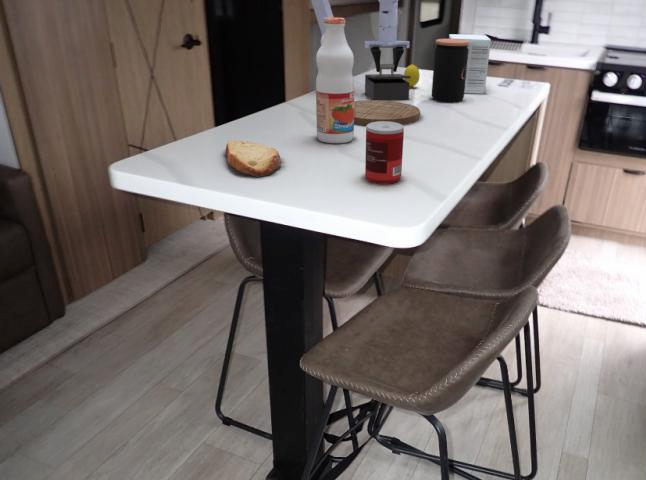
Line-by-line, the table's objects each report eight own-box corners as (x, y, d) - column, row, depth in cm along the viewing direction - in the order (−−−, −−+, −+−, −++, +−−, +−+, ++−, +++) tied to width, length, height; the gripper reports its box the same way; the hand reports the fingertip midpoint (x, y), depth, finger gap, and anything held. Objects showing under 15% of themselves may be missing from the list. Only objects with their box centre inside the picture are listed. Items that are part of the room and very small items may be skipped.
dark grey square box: (408, 99, 195) (409, 82, 192) (373, 100, 192) (373, 83, 190) (398, 92, 205) (399, 76, 202) (364, 93, 202) (365, 76, 199)
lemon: (400, 86, 214) (401, 63, 210) (414, 85, 216) (415, 62, 212) (407, 89, 210) (409, 65, 206) (421, 88, 212) (423, 64, 208)
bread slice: (235, 147, 143) (234, 131, 141) (302, 156, 137) (302, 140, 136) (190, 168, 128) (188, 150, 127) (263, 179, 123) (262, 161, 121)
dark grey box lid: (410, 78, 191) (410, 64, 189) (374, 79, 188) (374, 65, 187) (399, 76, 202) (399, 63, 200) (365, 76, 199) (365, 63, 198)
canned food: (399, 172, 129) (402, 121, 124) (402, 184, 122) (405, 131, 117) (364, 172, 129) (365, 120, 123) (365, 184, 122) (366, 130, 116)
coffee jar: (465, 103, 192) (471, 43, 183) (432, 102, 192) (437, 42, 183) (461, 96, 201) (467, 39, 192) (430, 95, 201) (434, 38, 192)
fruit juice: (329, 132, 157) (328, 15, 143) (360, 137, 153) (362, 18, 139) (309, 140, 150) (306, 18, 136) (341, 146, 146) (341, 20, 132)
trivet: (406, 130, 161) (407, 123, 160) (321, 120, 167) (321, 114, 166) (428, 111, 181) (429, 104, 180) (351, 103, 188) (352, 97, 187)
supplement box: (444, 85, 218) (448, 33, 209) (480, 86, 217) (486, 34, 208) (447, 92, 206) (451, 38, 197) (485, 94, 206) (491, 39, 197)
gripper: (368, 27, 184) (367, 74, 191) (413, 27, 187) (410, 73, 194) (363, 25, 190) (362, 70, 196) (406, 25, 193) (404, 69, 200)
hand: (386, 71), depth 196 cm, fingers closed on dark grey box lid, 5 cm apart
